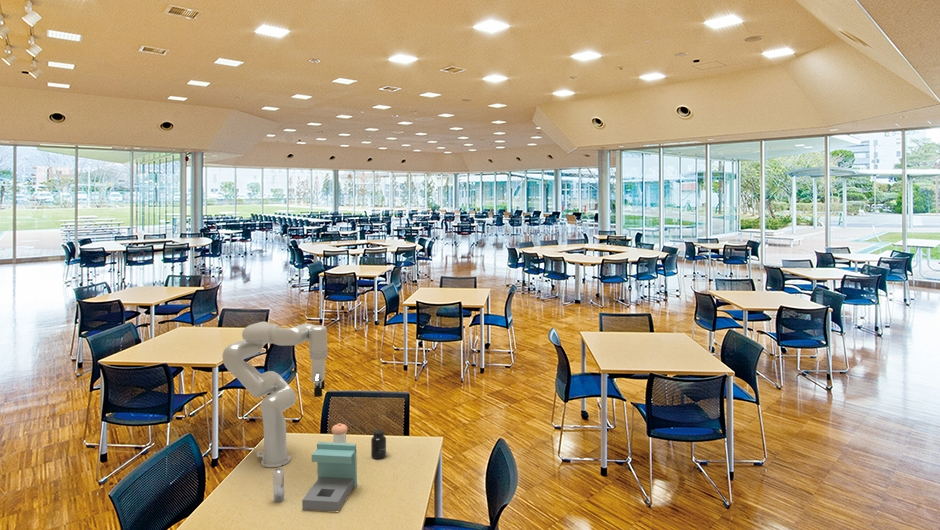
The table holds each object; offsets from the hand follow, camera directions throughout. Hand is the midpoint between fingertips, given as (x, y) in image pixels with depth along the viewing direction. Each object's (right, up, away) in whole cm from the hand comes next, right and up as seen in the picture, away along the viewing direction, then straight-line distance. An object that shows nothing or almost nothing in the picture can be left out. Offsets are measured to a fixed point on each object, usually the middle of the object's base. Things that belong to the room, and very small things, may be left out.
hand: (319, 392), depth 232 cm
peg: (-10, -37, -22) cm, 44 cm away
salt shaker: (+7, -34, +7) cm, 36 cm away
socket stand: (+10, -37, -20) cm, 43 cm away
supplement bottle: (+23, -34, +16) cm, 44 cm away
